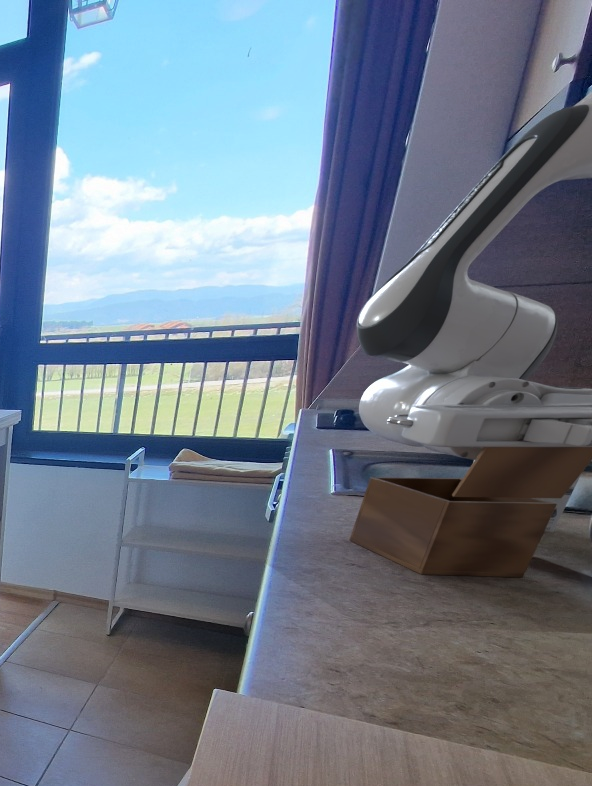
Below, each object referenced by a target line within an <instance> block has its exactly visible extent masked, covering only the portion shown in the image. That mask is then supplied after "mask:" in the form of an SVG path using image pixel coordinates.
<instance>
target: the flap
mask: <svg viewBox="0 0 592 786" xmlns="http://www.w3.org/2000/svg"><path fill="white" fill-rule="evenodd" d="M473 462H474V463H473ZM473 462H472V464H471V465H470V467H469V468H468V470H467V471H466V473H465V474H464V476H463V478H462V480H461V482H460V483H459V485H458V486H457V488H456V489H455V491H454V492H453V494H452V496H453V497H497V498H562V497H563V496H564V494H565V493H566V492H567V491H568V489H569V488H570V487H571V486H572V484H573V483H574V482H575V481H576V479H577V478H578V477H579V476H580V474H581V475H582V473H583V472H584V470H585V469H586V468H587V467H588V465H589V464H590V463H591V462H592V447H484V448H483V449H482V451H481V452H480V454H479V455H478V457H477V458H476V460H475V461H474V460H473ZM580 477H581V476H580Z"/></svg>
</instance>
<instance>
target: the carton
mask: <svg viewBox="0 0 592 786" xmlns="http://www.w3.org/2000/svg"><path fill="white" fill-rule="evenodd" d="M462 479H463V478H461V477H394V476H393V477H389V476H388V477H385V476H383V477H379V476H377V477H375V476H372V477H371V476H370V478H369V481H368V484H367V486H366V489H365V493H364V495H363V498H362V501H361V504H360V506H359V507H360V508H359V510H358V513H357V517H356V518H355V521H354V524H353V527H352V530H351V534H350V537H349V540H348V541H349V542H352V543H354V544H356V545H358V546H360V547H363V548H365V549H367V550H368V551H371V552H373V553H376V554H377V555H380V556H382V557H384V558H387V559H388V560H390V561H392V562H395V563H397V564H399V565H401V566H403V567H405V568H407V569H409V570H411V571H413V572H415V573H418V574H419V575H432V576H433V575H436V576H461V577H462V576H464V577H465V576H466V577H496V578H497V577H501V578H524V576H525V574H526V572H527V569H528V567H529V566H530V563H531V561H532V559H533V557H534V554H535V553H536V550H537V548H538V546H539V544H540V542H541V540H542V537H543V536H544V533H545V532H546V531H545V529H546V527H547V525H548V522H549V520H550V518H551V516H552V514H553V512H554V510H555V507H556V505H557V504H556V503H552V502H549V501H545V500H541V499H537V498H497V497H453V496H452V494H453V492H454V491H455V489H456V488H457V486H458V485H459V483H460V482H461V480H462Z"/></svg>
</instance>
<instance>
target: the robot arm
mask: <svg viewBox="0 0 592 786" xmlns="http://www.w3.org/2000/svg"><path fill="white" fill-rule="evenodd" d="M582 179H592V90H591V91H590V92H589V93H588V94H587V95H586V96H584V98H582V99H581V100H580V101H578V102H577V103H576V104H575V105H573V106H570V107H566V108H561V109H559V110H557V111H553V112H552V113H550V114H549V115H547V116H546V117H544V118H543V119H541V120H540V121H538V122H537V123H536V124H535V125H534V126H533V127H531V128H530V129H529V130H527V131H526V132H525V133H524V134H523V135H522V136H521V137H520V138H518V140H517V141H516V142H514V144H513V145H512V146H511V147H510V148H509V149H508V150H507V151H506V152H505V153H504V154H503V155H502V156H501V158H500V159H498V160H497V162H496V163H495V164H494V165H493V166H492V167H491V168H490V169H489V171H488V172H486V174H484V176H483V177H482V178H481V179H480V180H479V181H478V182H477V183H476V184H475V186H474V187H473V188H472V189H471V190H470V192H469V193H468V194H467V195H466V196H465V197H464V198H463V199H462V201H461V202H460V203H459V204H458V205H457V206H456V207H455V208H454V209H453V210H452V211H451V213H450V214H449V215H448V216H447V217H446V218H445V219H444V221H443V222H442V223H441V224H440V225H439V226H438V228H436V230H435V231H434V232H433V233H432V234H431V236H429V238H428V239H427V240H426V241H425V242H424V243H423V245H421V247H420V248H419V249H418V250H417V251H416V252H415V253H414V255H413V256H412V257H411V258H410V259H409V260H408V261H407V262H405V264H403V266H402V267H400V268H399V269H398V270H397V271H395V273H394V274H393V275H392V276H390V278H388V280H386V281H385V282H384V283H383V284H382V285H381V286H380V287H379V288H378V289H377V290H376V291H374V293H373V294H372V296H370V297H369V298H368V300H367V301H366V303H365V304H364V305H363V307H362V308H361V310H360V311H359V313H358V316H357V319H356V335H357V340H358V343H359V346H360V348H361V350H362V352H363V353H364V354H365V355H367V356H371V357H375V358H379V359H384V360H387V361H391V362H397V363H403V364H406V365H407V366H405V367H404V368H402V369H400V370H399V371H396V372H394V373H391V374H389V375H386V376H384V377H382V378H380V379H377V380H376V381H374V382H373V383H372V384H370V385H369V386H368V387H367V388H366V389H365V391H364V392H363V393H362V395H361V398H360V401H359V405H358V412H359V413H358V414H359V417H360V420H361V422H362V423H363V425H364V426H365V427H366V429H367V430H369V431H370V432H372V434H374V435H376V436H378V437H380V438H382V439H385V440H387V441H390V442H394V443H398V444H401V445H404V446H410V447H413V448H415V447H416V448H425V449H428V450H430V451H433V452H435V453H440V454H443V455H444V454H445V455H449V456H453V457H457V458H462V459H467V460H472V461H474V460H476V458H477V457H478V455H479V454H480V452H481V451H482V449H483V448H484V447H592V388H586V387H578V386H556V385H549V384H543V383H539V382H535V381H531V380H527V379H528V378H529V377H530V376H532V374H533V373H534V372H535V371H536V370H537V369H538V368H539V367H540V365H541V364H542V362H543V361H544V360H545V358H546V357H547V356H548V354H549V352H550V350H551V348H552V346H553V344H554V341H555V339H556V335H557V331H558V317H557V313H556V311H555V309H554V307H552V306H551V305H549V304H546V303H543V302H539V301H537V300H534V299H532V298H530V297H527V296H524V295H521V294H517V293H516V292H513V291H509V290H504V289H500V288H497V287H494V286H491V285H489V284H486V283H483V282H480V281H478V280H474V279H471V278H470V277H469V275H468V272H469V267H470V266H471V264H472V262H474V261H475V260H476V258H477V257H478V256H479V255H480V254H481V253H482V252H483V251H484V249H486V247H487V246H488V245H489V244H490V243H491V242H493V240H494V239H495V238H496V237H497V236H498V235H499V234H500V232H502V230H503V229H504V228H505V227H506V226H507V225H508V224H509V223H510V222H511V220H513V219H514V217H515V216H516V215H517V214H518V213H519V212H520V211H521V210H522V209H523V208H524V206H525V205H526V204H528V202H529V201H530V200H531V199H533V197H535V196H536V195H537V194H539V193H540V192H541V191H543V190H545V189H546V188H547V187H549V186H550V185H552V184H555V183H558V182H560V181H568V180H569V181H570V180H582Z"/></svg>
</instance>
